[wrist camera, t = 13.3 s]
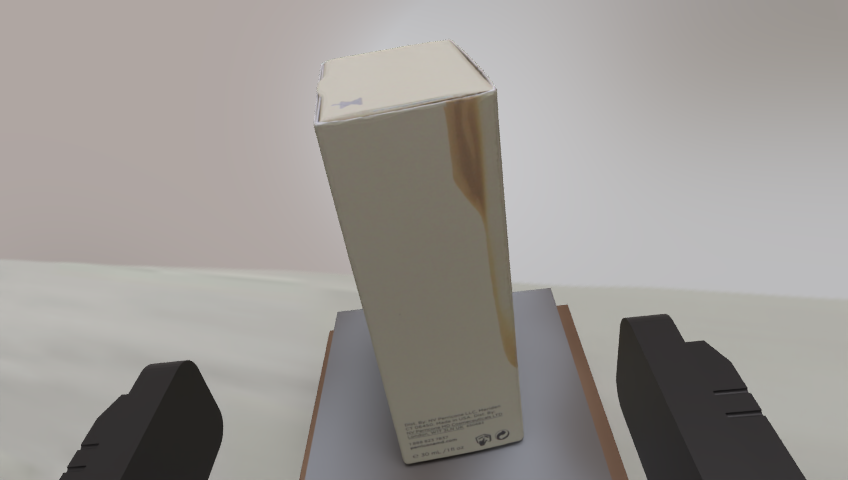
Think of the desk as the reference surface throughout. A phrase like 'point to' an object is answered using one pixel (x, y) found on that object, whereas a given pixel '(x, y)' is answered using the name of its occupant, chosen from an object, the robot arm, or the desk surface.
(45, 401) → the desk surface
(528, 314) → the metal plate on wood
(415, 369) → the skincare box
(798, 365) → the desk surface
